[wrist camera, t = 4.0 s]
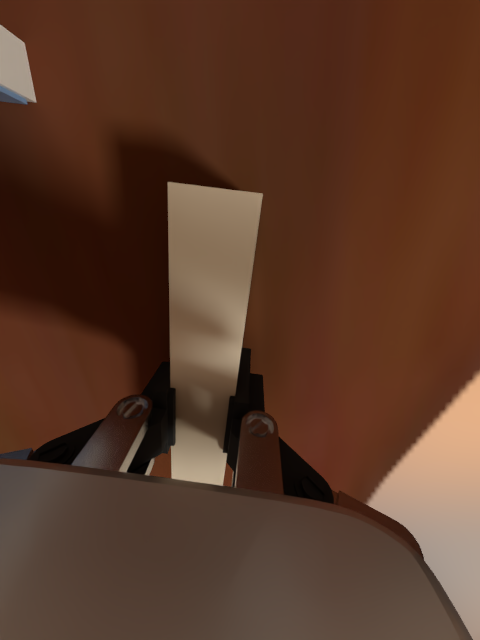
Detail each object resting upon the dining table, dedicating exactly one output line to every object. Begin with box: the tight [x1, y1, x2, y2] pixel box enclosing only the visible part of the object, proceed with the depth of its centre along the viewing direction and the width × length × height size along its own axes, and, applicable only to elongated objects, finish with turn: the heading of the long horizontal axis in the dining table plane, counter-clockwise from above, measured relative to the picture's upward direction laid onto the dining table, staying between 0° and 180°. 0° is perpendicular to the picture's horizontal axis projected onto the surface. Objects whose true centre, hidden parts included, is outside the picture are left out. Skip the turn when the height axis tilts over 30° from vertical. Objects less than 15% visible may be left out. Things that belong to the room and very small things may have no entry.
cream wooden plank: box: [168, 182, 263, 486], centre depth 11 cm, size 16×2×4 cm, turn 173°
